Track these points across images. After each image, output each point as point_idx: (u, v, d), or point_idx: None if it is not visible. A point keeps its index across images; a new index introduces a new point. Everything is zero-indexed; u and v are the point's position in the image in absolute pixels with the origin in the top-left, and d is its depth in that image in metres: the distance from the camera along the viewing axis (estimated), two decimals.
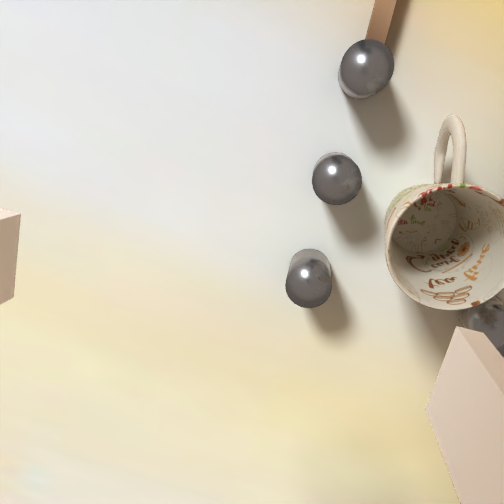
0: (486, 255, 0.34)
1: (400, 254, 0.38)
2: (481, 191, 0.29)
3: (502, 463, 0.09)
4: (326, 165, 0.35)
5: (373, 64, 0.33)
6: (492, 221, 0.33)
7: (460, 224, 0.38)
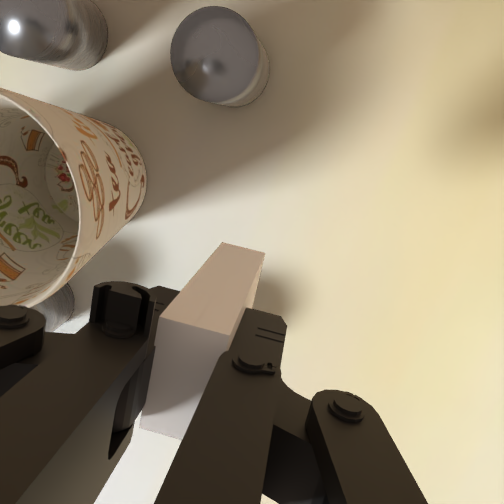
0: None
1: None
2: None
3: None
4: None
5: None
6: None
7: None
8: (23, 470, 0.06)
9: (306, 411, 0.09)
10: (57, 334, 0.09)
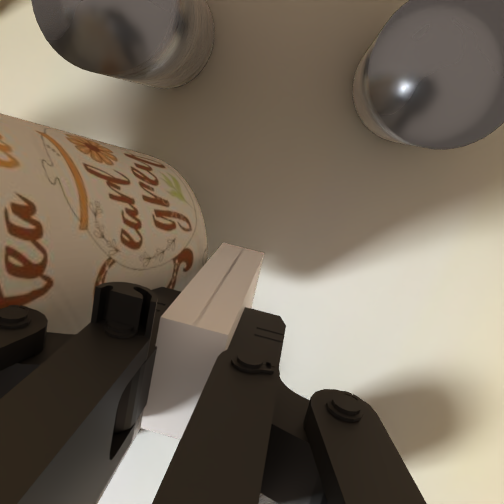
0: None
1: None
2: None
3: None
4: None
5: None
6: None
7: None
8: (24, 469, 0.06)
9: (305, 411, 0.09)
10: (58, 334, 0.09)
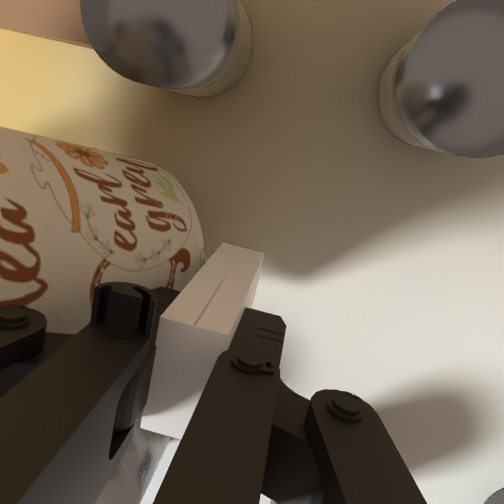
0: None
1: None
2: None
3: None
4: None
5: None
6: None
7: None
8: (24, 469, 0.06)
9: (305, 411, 0.09)
10: (58, 334, 0.09)
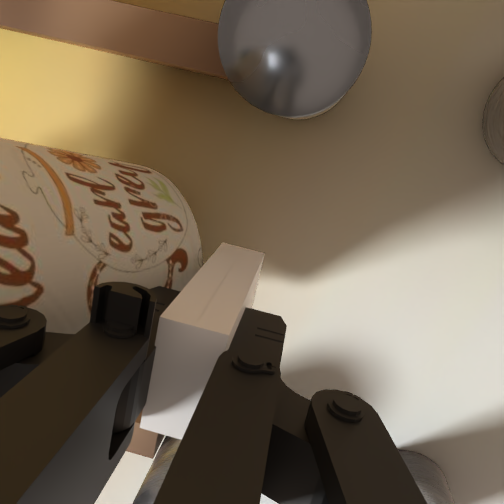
0: None
1: None
2: None
3: None
4: None
5: None
6: None
7: None
8: (24, 469, 0.06)
9: (305, 411, 0.09)
10: (58, 334, 0.09)
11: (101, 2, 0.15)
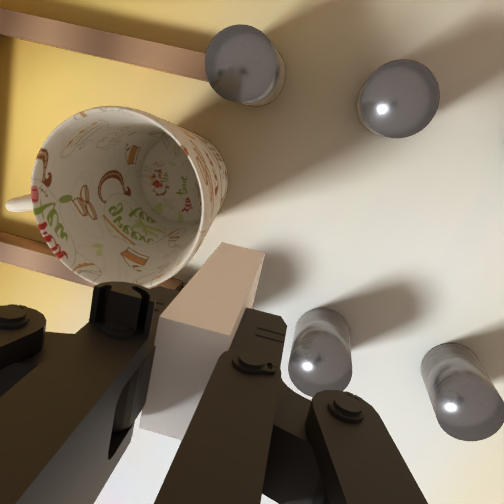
0: (154, 124, 0.24)
1: None
2: (37, 184, 0.22)
3: None
4: (299, 380, 0.28)
5: None
6: (105, 132, 0.24)
7: (168, 135, 0.29)
8: (23, 470, 0.06)
9: (306, 411, 0.09)
10: (57, 334, 0.09)
11: (146, 42, 0.27)
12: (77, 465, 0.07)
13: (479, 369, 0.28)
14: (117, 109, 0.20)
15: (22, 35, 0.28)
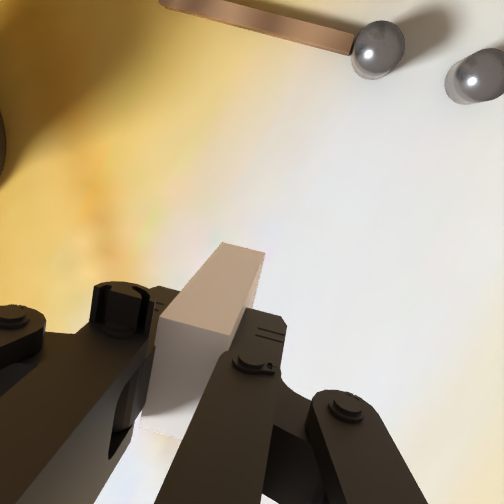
0: None
1: None
2: None
3: None
4: (469, 86, 0.35)
5: (377, 40, 0.35)
6: None
7: None
8: (23, 469, 0.06)
9: (306, 411, 0.09)
10: (57, 334, 0.09)
11: None
12: (77, 465, 0.07)
13: None
14: None
15: None
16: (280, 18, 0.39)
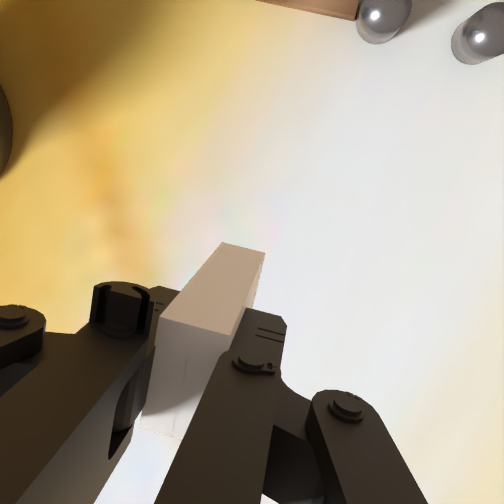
0: None
1: None
2: None
3: None
4: (477, 41, 0.35)
5: (384, 0, 0.35)
6: None
7: None
8: (23, 469, 0.06)
9: (306, 411, 0.09)
10: (57, 334, 0.09)
11: None
12: (77, 465, 0.07)
13: None
14: None
15: None
16: None
